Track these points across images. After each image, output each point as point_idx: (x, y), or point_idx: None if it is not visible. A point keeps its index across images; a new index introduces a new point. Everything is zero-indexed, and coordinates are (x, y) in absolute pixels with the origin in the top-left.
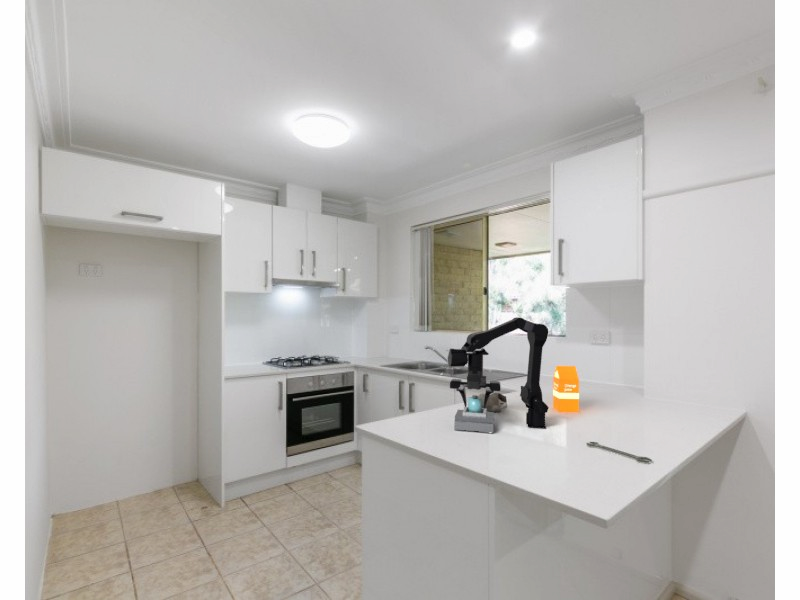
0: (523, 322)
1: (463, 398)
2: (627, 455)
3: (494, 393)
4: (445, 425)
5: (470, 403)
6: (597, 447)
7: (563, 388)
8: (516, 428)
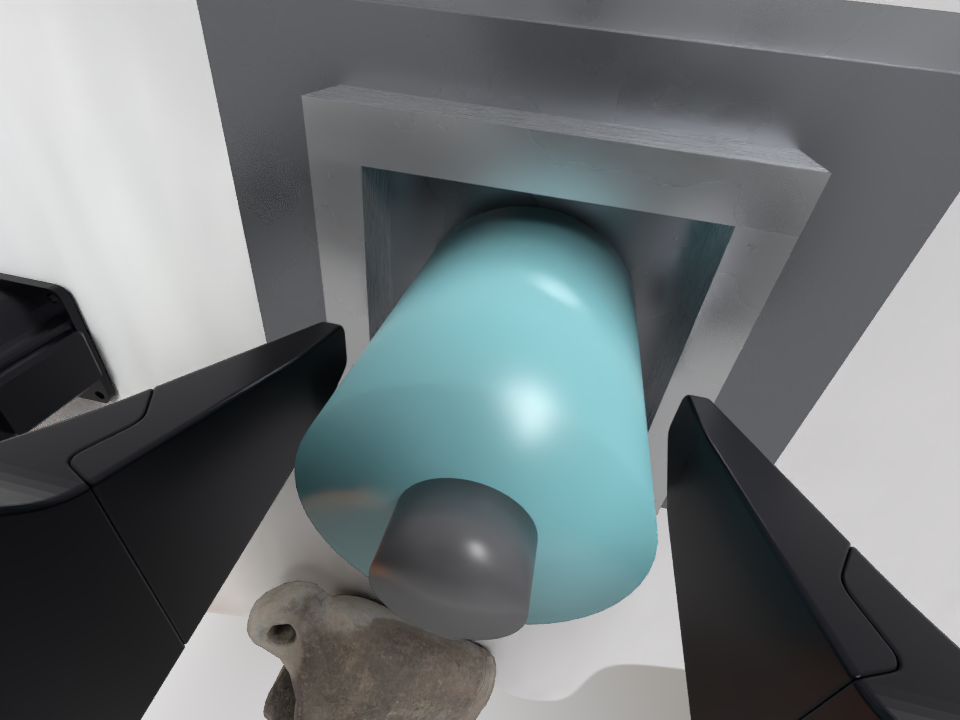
0: None
1: (833, 550)
2: None
3: None
4: (927, 287)
5: (614, 369)
6: None
7: None
8: (144, 252)
